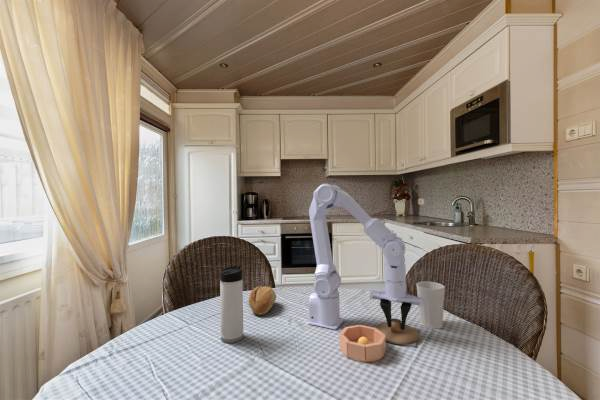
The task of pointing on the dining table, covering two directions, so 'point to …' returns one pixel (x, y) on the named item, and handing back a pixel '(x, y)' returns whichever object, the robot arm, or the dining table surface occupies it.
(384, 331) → the lid
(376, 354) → the bowl
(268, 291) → the bread roll
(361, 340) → the clementine
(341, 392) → the dining table surface
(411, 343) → the mat
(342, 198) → the robot arm
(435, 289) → the cup
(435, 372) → the dining table surface
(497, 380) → the dining table surface
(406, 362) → the dining table surface
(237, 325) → the travel mug
